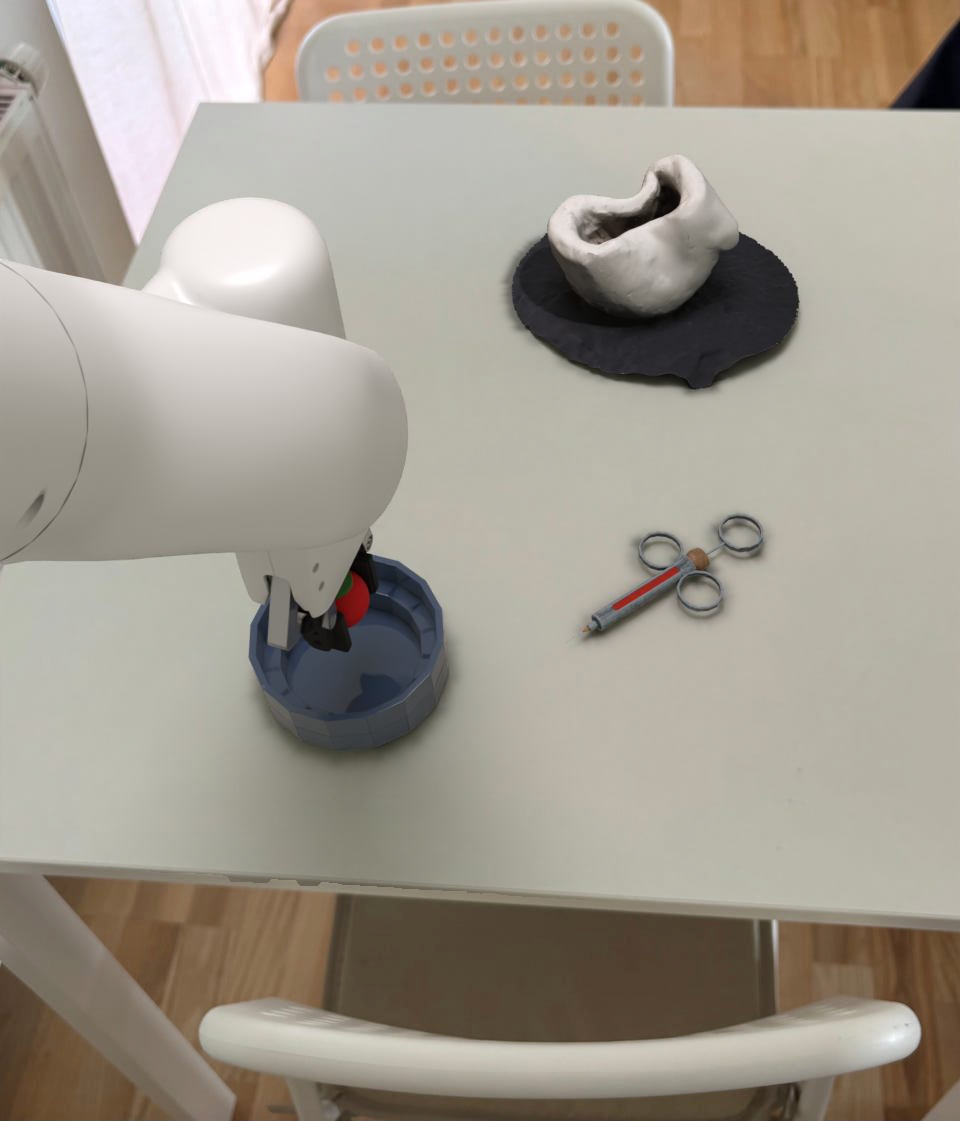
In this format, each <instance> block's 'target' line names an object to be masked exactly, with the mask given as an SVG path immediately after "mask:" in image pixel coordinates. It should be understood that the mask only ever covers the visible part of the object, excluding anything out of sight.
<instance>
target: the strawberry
mask: <svg viewBox="0 0 960 1121" xmlns="http://www.w3.org/2000/svg"><path fill="white" fill-rule="evenodd" d="M369 599H370V598H369V591H368V588H367V586H366V584H365V582H364V581H363V579H362V578H361V577H360V576H359V575H358V574H356V573H355V572H353V571H351V570H349V571H348V573H347V575H346V577H345V579H344V581H343V583H342V585H341V587H340V589H339V591H338V593H337V595H336V597H335V602H336V611H340V612H342V613H343V614H344V616H345V620H346V623H347V627H348V628H351V627H353V626H354V625H356V624H357V623H359V622H360V621H361V620H362V618H363V617H364V616H365V614H366V612H367V610H368V607H369Z"/></svg>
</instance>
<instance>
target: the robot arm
mask: <svg viewBox="0 0 960 1121" xmlns="http://www.w3.org/2000/svg"><path fill="white" fill-rule="evenodd" d="M333 269H334V268H333V264H332V260H331V256H330V252H329V249H328V244H327V242H326V240H325V238H324V236H323V235H322V233H321V231H320V230H319V227H318V226H317V225H316V224H315V223H314V221H313V220H312V218H310V217H309V216H307V215H306V214H305V213H303V212H302V210H299V209H298V208H297V207H294V206H292V205H290V204H289V203H285V202H283V201H281V200H276V199H272V198H266V197H255V196H254V197H253V196H249V197H247V196H245V197H234V198H229V199H225V200H221V201H217V202H214V203H211V204H209V205H207V206H206V205H205V207H202V208H201V209H198V210H197V211H195V212H194V213H192V214H190V215H189V216H187V217H186V218H184V219H183V220H182V221H181V222H180V223H178V225H176V227H175V228H174V229H173V230H172V231H171V232H170V234H169V236H168V237H167V238H166V240H165V242H164V245H163V247H162V250H161V252H160V256H159V262H158V268H157V271H156V273H155V274H154V275H153V276H152V277H151V279H149V281H148V282H146V284H145V285H144V286H143V287H142V288H141V289H140V290H138V289H134V288H129V287H126V286H121V285H116V284H114V283H113V284H112V283H108V282H103V281H99V280H96V279H91V278H86V277H82V276H81V277H80V276H75V275H71V274H65V273H61V272H56V271H52V270H48V269H47V270H46V269H42V268H38V267H35V266H32V265H27V264H23V263H19V262H16V261H14V260H13V261H12V260H9V259H5V258H2V257H0V566H8V565H14V564H19V563H25V562H108V561H109V562H112V561H133V560H143V559H153V558H155V559H156V558H166V557H179V556H192V555H193V556H194V555H205V554H207V555H209V554H225V553H226V554H228V553H234V555H235V558H236V562H237V565H238V570H239V573H240V575H241V578H242V581H243V584H244V587H245V590H246V592H247V594H248V596H249V598H250V600H251V601H252V602H254V603H256V604H259V605H261V604H262V605H265V604H266V602H267V600H268V598H269V597H270V609H269V624H268V640H267V642H268V645H270V646H273V647H277V648H280V649H284V650H287V651H289V650H290V649H291V648H292V647H293V646H294V645H295V644H296V643H297V642H298V641H299V640H300V639H301V636H303V639H304V640H306V641H307V642H308V644H309V645H310V646H312V647H313V648H315V649H318V650H322V651H326V652H328V651H330V650H331V649H335V650H338V651H342V652H349V650H350V648H351V646H352V642H351V638H350V634H349V631H348V627H347V623H346V620H345V616H344V614H343V613H342V612H340V611H336V602H335V597H336V595H337V593H338V591H339V589H340V587H341V585H342V583H343V581H344V579H345V577H346V575H347V573H348V571H349V570H351V571H353V572H355V573H356V574H358V575H359V576H360V577H361V578H362V579H363V581H364V582H365V584H366V586H367V588H368V591H369V594H370V595H372V594H373V593H376V591H377V589H378V587H379V584H378V579H377V574H376V570H375V565H374V561H373V556H372V554H373V553H369V552H370V551H371V548H372V546H373V542H374V534H373V532H372V530H371V527H372V526H373V525H374V524H375V523H376V522H377V521H378V520H379V519H380V517H381V516H382V515H383V514H384V512H385V511H386V509H387V508H388V507H389V505H390V504H391V502H392V500H393V498H394V496H395V494H396V492H397V490H398V487H399V485H400V482H401V479H402V476H403V473H404V469H405V465H406V461H407V453H408V448H409V447H408V446H409V421H408V413H407V408H406V403H405V398H404V395H403V392H402V389H401V386H400V384H399V382H398V379H397V377H396V376H395V374H394V372H393V370H392V369H391V368H390V365H389V364H388V363H387V362H386V361H385V360H384V359H383V358H382V356H381V355H380V354H378V353H377V352H376V351H375V350H373V349H371V348H368V347H366V346H363V345H361V344H358V343H355V342H353V341H351V340H347V339H348V338H347V335H346V329H345V325H344V320H343V315H342V310H341V305H340V299H339V295H338V290H337V284H336V279H335V274H334V270H333Z"/></svg>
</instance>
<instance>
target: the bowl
mask: <svg viewBox="0 0 960 1121" xmlns="http://www.w3.org/2000/svg"><path fill="white" fill-rule="evenodd" d="M371 554H372V556H373V561H374V565H375V570H376V574H377V579H378V584H379V587H378V589H377V591H376V593H373V594H372V595H370V594H369V598H370V599H369V607H368V610H367V612H366V614H365V616H364V617H363V618H362V620H361V621H360V622H359V623H357V624H356V625H354V626H353V627H351V628H348V631H349V634H350V638H351V642H352V646H351V648H350V650H349V652H342V651H338V650H335V649H331V650H330V651H328V652H326V651H322V650H318V649H315V648H313V647H312V646H310V645H309V644H308V642H307V641H306V640H304V639H303V636H301V639H300V640H299V641H298V642H297V643H296V644H295V645H294V646H293V647H292V648H291V649H290V650H289V651H287V650H284V649H280V648H277V647H273V646H270V645H268V642H267V640H268V624H269V609H270V597H269V598H268V600H267V602H266V604H265V605H262V604H259V608H258V609H257V611H256V613H255V616H254V617H253V619H252V621H251V623H250V624H249V625H250V626H249V639H248V640H249V643H248V660H249V662H250V664H251V667H252V669H253V672H254V674H255V676H256V678H257V680H258V684H259V685H260V687H261V688H260V689H261V690H262V692H263V695H264V696H265V699H266V701H267V704H268V707H269V709H270V711H271V713H272V716H273V718H274V719H275V720H276V721H277V722H278V723H279V724H280V725H282V726H283V727H284V729H286V730H287V731H288V732H289V733H291V734H292V735H293V736H294V737H295V738H297V739H298V740H299V741H301V742H303V743H306V744H310V745H313V746H317V747H319V748H323V749H327V750H330V751H333V752H337V753H339V752H351V751H360V750H374V749H377V748H379V747H382V746H384V745H385V744H387V743H390V742H392V741H394V740H396V739H398V738H400V737H402V736H405V735H407V734H409V733H411V732H412V731H413V730H414V729H415V728H416V727H417V726H418V725H419V724H420V723H421V722H422V721H423V720H424V719H425V718H426V717H427V715H429V714H430V713H431V712H432V711H433V709H434V708H435V707H436V705H437V703H438V701H439V698H440V696H441V694H442V691H443V688H444V687H445V683H446V681H447V679H448V676H449V661H448V660H449V659H448V658H449V657H448V643H447V636H446V629H445V621H444V620H445V619H444V612H443V607H442V606H441V604H440V603H439V600H438V599H437V597H436V596H435V594H434V592H433V591H432V588H431V587H430V585H429V583H428V582H427V580H426V579H424V578H423V577H421V575H419V574H418V573H416V572H415V571H413V570H412V569H411V568H409V567H408V566H406V565H405V564H403V563H402V562H401V561H399V560H396V559H392V558H389V557H384V556H381V555H377V554H373V553H371Z"/></svg>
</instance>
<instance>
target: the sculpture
mask: <svg viewBox="0 0 960 1121" xmlns="http://www.w3.org/2000/svg"><path fill="white" fill-rule="evenodd" d="M546 225H547V226H546V232H545V233H544V235H543V236H542V237H541V239H540V241H537V242H535V244H533V246H532V247H530V249H528V251H527V252H526V253H525V255H524V256H523V257H522V258H521V259H519V263H518V265H517V266H516V268H515V272H514V274H513V275H512V278H513V279H512V284H511V289H512V291H511V294H512V302H513V303H512V304H513V305H514V306H513V307H514V308H513V309H514V310H515V311H516V313H517V316H519V317H518V318H519V319H520V321H521V323H523V324H524V326H525V327H527V326H528V327H529V330H530V331H531V333H533V334H534V335H535V336H539V337H542V338H543V339H545V340H547V342H549V343H550V344H551V345H553V346H554V347H555V348H558V349H559V350H560V352H561V353H565V358H567V359H568V360H569V361H573V362H575V361H576V362H579V363H581V364H583V365H588V366H589V368H592V369H599V370H600V371H602V372H604V373H611V374H617V375H622V374H623V375H624V376H627V374H633V373H634V374H642V375H643V374H644V375H645V376H650V377H657V376H661V375H662V376H663V375H665V374H672V375H675V376H677V377H680V378H684V379H685V380H686V381H687V382H688V384H689V386H690V388H693V389H695V390H696V389H701V388H706V387H710V386H711V385H712V384H713V381H714V380H715V376H716V375H717V374H719V373H720V372H721V371H723V372H725V370H728V368H732V366H734V365H735V364H736V363H737V362H738V361H740V360H742V359H743V358H747V357H751V356H755V355H758V354H761V353H762V352H764V351H766V350H770V349H773V347H774V348H775V347H777V346H778V344H779V345H781V343H782V342H783V341H784V339H785V337H786V336H787V335H788V333H790V331H791V330H792V326H794V325H795V321H797V319H796V318H798V316H799V315H798V313H799V311H798V309H800V308H799V304H800V303H801V301H800V298H799V296H800V295H799V286H798V285H797V281H796V280H795V278H794V277H793V276H794V275H793V273H792V272H790V270H789V267H788V266H787V265H785V262H784V261H782V259H781V258H779V256H778V255H776V254H775V253H774V252H773V251H772V250H771V249H769V248H766V247H765V245H762V244H761V243H759V241H758V240H756V239H755V238H753V237H751V236H749V235H746V234H745V233H742V232H741V231H739V222H738V220H737V219H736V217H735V216H734V215H733V213H732V212H731V211H730V209H728V207H727V206H726V204H725V203H724V201H723V200H722V198H721V197H720V196H719V194H718V193H717V191H716V189H715V187H713V185H712V184H711V183H710V181H709V180H708V179H707V177H706V175H705V174H704V172H703V171H702V170H701V169H700V168H699V166H697V164H696V163H695V162H693V160H691V159H690V158H688V157H687V156H685V155H682V154H679V153H678V154H677V153H675V154H671V155H669V156H665V157H662V158H660V159H658V160H656V161H654V162H652V163H651V164H650V165H649V166H648V169H647V170H646V172H645V175H644V177H643V180H642V184H641V188H640V190H639V191H638V192H637V193H636V194H635V195H634V196H631V197H628V198H615V197H611V196H610V197H609V196H604V195H603V196H602V195H595V194H585V193H583V194H575V195H572V196H568V197H567V198H565V200H563V201H562V202H561V203H560V204H559V205H558V206H557V207H556V208H555V210H554V211H553V212H552V214H551V216H550V217H549V218H548V221H547V224H546Z"/></svg>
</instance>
